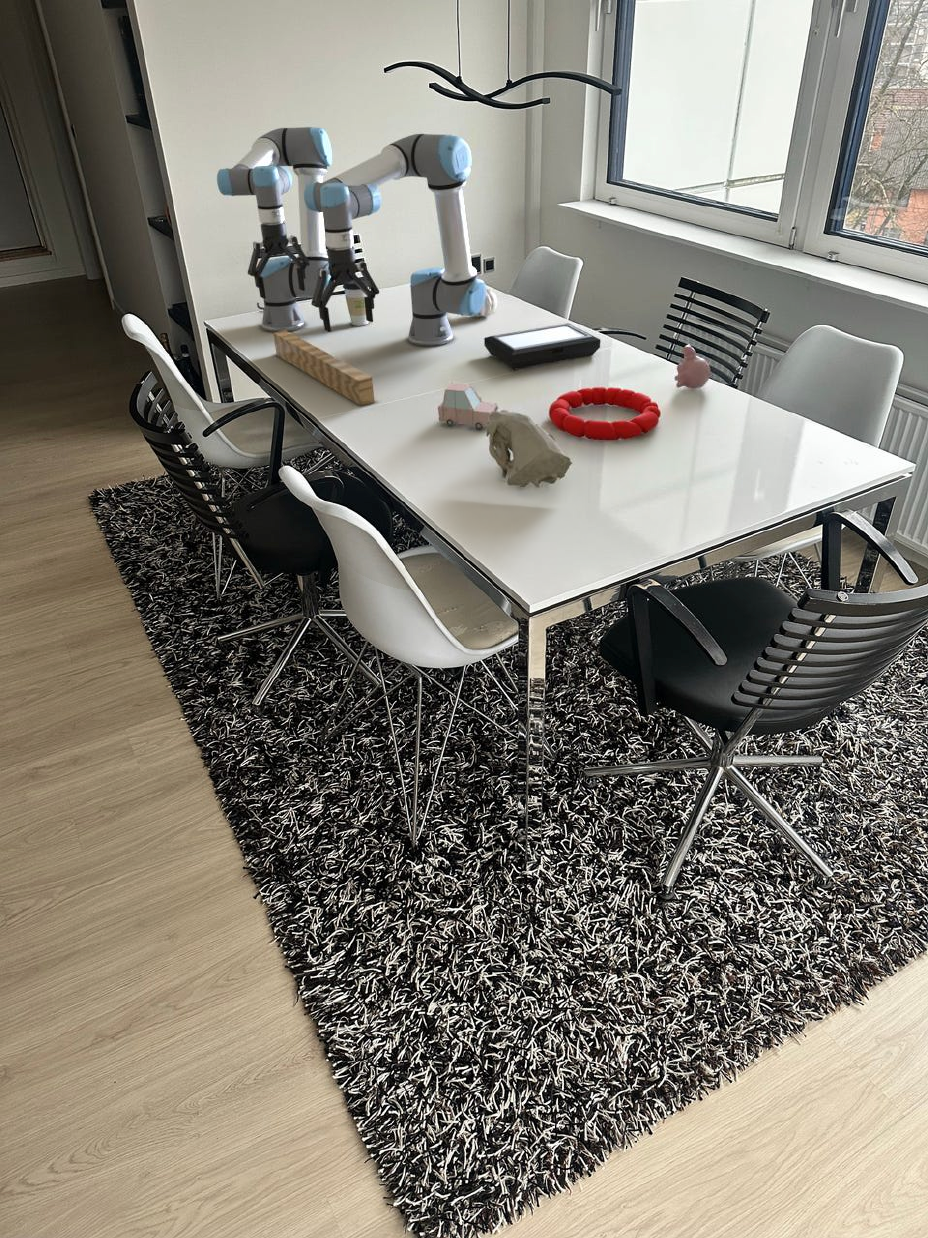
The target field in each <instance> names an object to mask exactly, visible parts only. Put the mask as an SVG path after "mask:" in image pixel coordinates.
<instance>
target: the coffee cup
mask: <svg viewBox="0 0 928 1238" xmlns="http://www.w3.org/2000/svg"><path fill="white" fill-rule="evenodd" d="M358 278H359V279H360V280H361V281H362V282H363V284H364V285H365V286H366V287H367V288H368V289H369V290H370V288H369V286H368V284H367V282H366V281H365V279H364V277H358ZM342 288H343V290H344V297H345V301H346V305H347V310H348V314H349V318H350V323H351V325H353V326H357V327H359V326H365V325H368V324H369V321H367V320H366V311H365V301H364V297H367V295H366V294H365V293H364V292H363V291H362V290H361V289H360V288H359V287H358V286H357V285H356V284H355V283H354V282H353V281H351V282H349V283H347V282H346V283H344V284H342Z"/></svg>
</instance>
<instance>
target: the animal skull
mask: <svg viewBox="0 0 928 1238" xmlns="http://www.w3.org/2000/svg"><path fill="white" fill-rule="evenodd" d="M485 436H486V438H487V437H489V438H488V440H489V444H488V445H489V446H488V450H489V454H490V456H491V457H492V458H493V459H494V460H495V462H496V464H497V466H499V468H500V470H501V471H502V472H501V478H502V479H507V480H506V484H507V486H517V487H518V486H519V488H523V489H524V488H526V486H527V485H529V483H531V485H533V486H534V487H536V488H540V485H541V484H542V482H544V483H549V484H550V485H553V484H555V483H556V482H557V480H561V479H563V478H565V476H566V474H567V472H568V471H569V469H570V467H571V466H572V464H573V462H572V461H571V458H570V457H568V456H567V455H565V453H564V451H562V449H561V448H560V446H559V444H557V443H556V439H555V438H554V436H553V435H551V434H550V433H548V432H547V431H546V430H545V429H544V428H542V427H541V426H539V425H538V424H537V423H536V424H535V422H534V421H533V419H532V418H531V417H530V416H529V415H527V414H524V413H519V412H515V411H509V410H507V409H502V410H500V411H499V410H497V411H496V412H492V413H491V414H490V422H488V423H487V427H486V435H485ZM511 453H512V454H511ZM511 455H512V457H513V458H512V460H511ZM507 474H508V475H507Z"/></svg>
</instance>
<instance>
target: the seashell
mask: <svg viewBox="0 0 928 1238" xmlns="http://www.w3.org/2000/svg"><path fill="white" fill-rule="evenodd" d="M497 305H498V299H497V297H496V294H495V292H493V291H492V290H491V289H487V288H486V298H485V302H484V304H483V307H482V308H481V310H480V311H479V312H478V313H477V314H476V315H474V316H473V317H476V318H477V317H489V316H490V315H492V313H493V312H494V311H495V310H496V308H497Z"/></svg>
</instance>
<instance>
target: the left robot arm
mask: <svg viewBox="0 0 928 1238" xmlns="http://www.w3.org/2000/svg"><path fill="white" fill-rule="evenodd" d="M332 165H333V150H332V146H331V141H330V139H329V136H328V134H327V132H326V130H325V129H324V128H322V127H313V126H306V127H305V126H304V127H279V128H275V129H273V130H270V131H268V132H266V133H264V134H262V135H261V136H259V137H258V138H256V140H255V141H254V142H253V143H252V145H251V149H250V150H249V151H248V152H247V153H246V154H245V155H244V156H243V157H242V158H241V159H240V160H239V161H237V163H236V164H235V165H234V166H233V167H232V168H229V167H225V168H220V169H218V171H217V174H216V183H217V188H218V190H219V192H220V194H221V195H223V196H230V197H236V196H237V197H240V196H242V197H243V196H245V197H246V196H255V198H256V204H257V212H258V219H259V222H260V225H259V226H260V231H261V238H262V242H260V241H259V242H257V241H253V242H252V245H253V246H252V247H253V250H252V255H251V257H250V262H249V265H248V269H247V275H248V276H251V277H253V278H254V283H255V287H256V288H257V289H258V290H259V292H258V293H259V297H260V298H261V299H263V307H261V305H260V302H256V306H257V308H258V309H259V310H262V311H263V313H262V319H261V326H262V330H264V331H265V332H271V333H275V332H280V331H284V330H286V331H288V332H293V331H296V330H297V331H298V330H300V329H302V328H304V326H305V319H304V317H303V314H302V312H301V310H300V307H299V306H298V305H299V304H298V303H297V298H307V299H308V298H310V299H313V295H314V292H315V288H316V285H317V281H318V278H319V277H318V270H319V269H323V270H326V269H328V268H329V263H328V257H327V248H326V247H327V246H326V240H325V232H324V231H325V230H324V222H323V215H322V213H319V212H316V211H312V210H310V209H309V208H308V207H307V206H306V204H305V201H304V190H305V188H306V186H307V185H308V184H309V183H311V182H320V183H322V182H324V177H325V176H326V175H327V173H328V167H330V166H332ZM286 167H292V172H293V173H294V174H295V175H296V176H297V177H296V178H297V189H298V192H297V193H298V210H299V211H298V212H299V231H300V232H299V233H300V234H299V235H300V236H299V237H300V244H299V242H298V241H299V240H298V237H297V236H295V235H290V236H287V235H288V234H287V233H288V232H287V229H286V228H287V226H286V222H285V212H284V205H283V198H282V197H283V196H282V195H284V194H286V193H288V191H289V190H290V189H291V187H292V184H293V176H292V174H291V172H290V171H289V169H287V168H286ZM289 244H291V245H292V247H293V250H295V252H296V254H297V256H296V255H295V254H294V253H293V252H292V251H291V250H290V249H289V248H288V245H289ZM263 248H264V250H263V252H262V256H261V258H260V255H261V251H262V249H263ZM284 254H285V255H286V256H282V257H281V255H284ZM278 255H280V257H276V258H272V256H274V257H275V256H278ZM271 258H272V259H271ZM259 259H260V260H259ZM330 277H331V276H330V275H329V274H328V277H327V278H326V283H325V287H324V290H323V293H324V291H325V289H326V287H327V285H328V281H329V279H330Z"/></svg>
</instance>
